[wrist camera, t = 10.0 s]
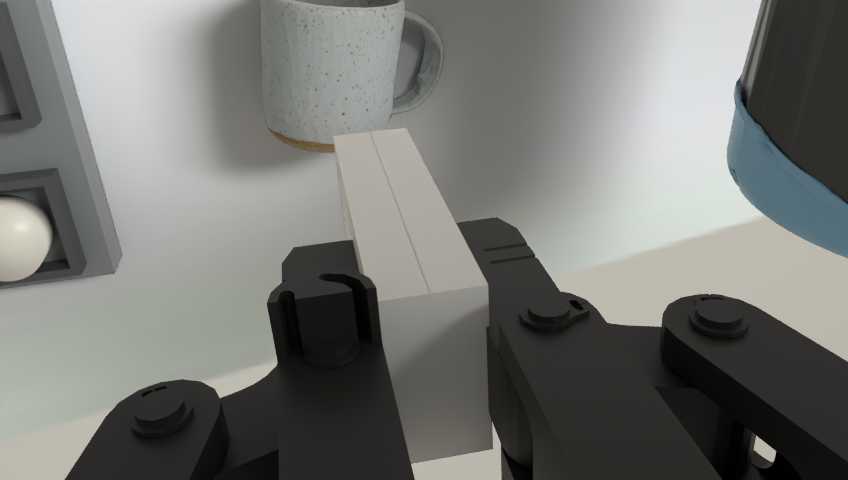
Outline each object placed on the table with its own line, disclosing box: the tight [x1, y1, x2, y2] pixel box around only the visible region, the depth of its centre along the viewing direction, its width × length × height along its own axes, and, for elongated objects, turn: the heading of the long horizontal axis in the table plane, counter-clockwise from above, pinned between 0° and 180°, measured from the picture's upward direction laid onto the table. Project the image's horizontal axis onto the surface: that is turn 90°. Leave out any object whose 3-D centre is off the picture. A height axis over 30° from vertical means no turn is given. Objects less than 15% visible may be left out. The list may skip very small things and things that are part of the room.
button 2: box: [0, 195, 54, 282], centre depth 41 cm, size 4×4×2 cm
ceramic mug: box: [260, 0, 443, 152], centre depth 41 cm, size 11×8×8 cm
